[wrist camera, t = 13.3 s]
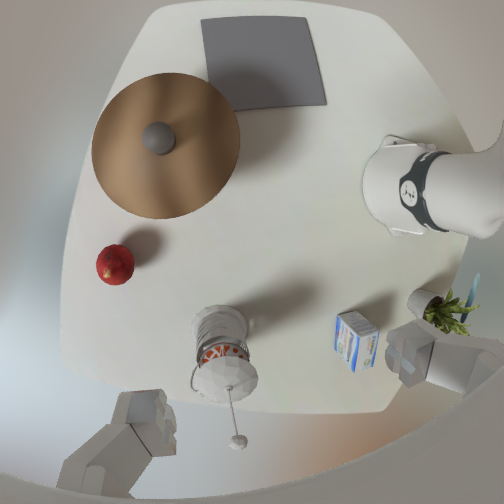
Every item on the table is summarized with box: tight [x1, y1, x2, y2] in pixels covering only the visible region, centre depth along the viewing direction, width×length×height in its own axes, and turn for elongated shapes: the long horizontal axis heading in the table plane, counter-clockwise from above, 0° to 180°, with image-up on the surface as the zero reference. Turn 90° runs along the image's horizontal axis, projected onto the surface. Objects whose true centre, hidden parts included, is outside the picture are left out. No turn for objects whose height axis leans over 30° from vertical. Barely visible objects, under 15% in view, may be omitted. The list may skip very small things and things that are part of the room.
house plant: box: [408, 289, 480, 336], centre depth 45 cm, size 14×14×16 cm
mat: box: [201, 16, 326, 111], centre depth 37 cm, size 18×18×1 cm
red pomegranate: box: [96, 244, 135, 285], centre depth 37 cm, size 6×6×8 cm
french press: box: [190, 305, 258, 450], centre depth 35 cm, size 10×12×25 cm
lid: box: [92, 73, 240, 219], centre depth 26 cm, size 17×17×5 cm
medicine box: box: [335, 311, 380, 372], centre depth 47 cm, size 8×4×9 cm, turn 3°
